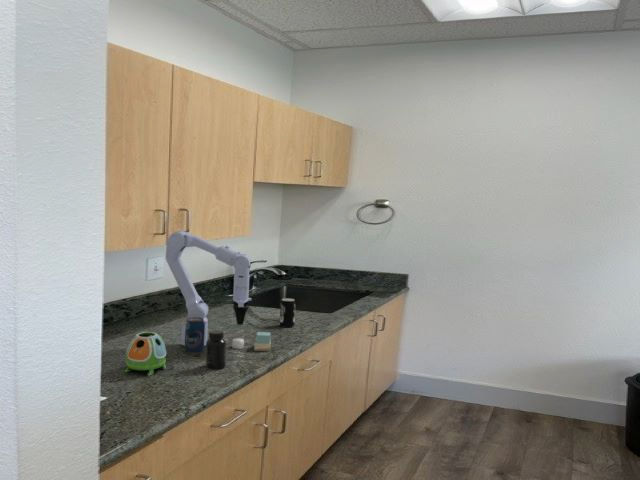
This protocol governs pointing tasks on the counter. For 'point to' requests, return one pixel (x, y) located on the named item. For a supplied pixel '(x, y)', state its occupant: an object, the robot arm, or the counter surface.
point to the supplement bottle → (216, 350)
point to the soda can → (194, 335)
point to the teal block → (263, 337)
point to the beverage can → (287, 312)
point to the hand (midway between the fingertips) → (239, 322)
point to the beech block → (262, 346)
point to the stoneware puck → (238, 343)
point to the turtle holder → (146, 353)
